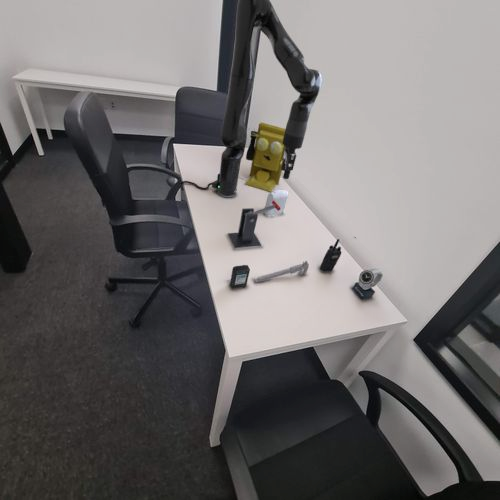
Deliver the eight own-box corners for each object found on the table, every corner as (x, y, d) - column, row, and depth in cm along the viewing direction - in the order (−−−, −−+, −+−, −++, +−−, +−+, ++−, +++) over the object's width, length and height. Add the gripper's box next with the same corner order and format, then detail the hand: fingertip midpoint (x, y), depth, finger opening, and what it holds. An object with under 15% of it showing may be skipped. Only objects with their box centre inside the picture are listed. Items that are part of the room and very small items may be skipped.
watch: (347, 289, 94) (361, 267, 88) (364, 285, 98) (378, 263, 91) (358, 301, 90) (372, 279, 84) (374, 297, 94) (390, 275, 87)
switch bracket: (252, 233, 111) (259, 205, 102) (260, 247, 104) (268, 217, 96) (227, 235, 107) (232, 206, 98) (234, 249, 100) (240, 219, 92)
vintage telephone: (229, 179, 148) (237, 123, 129) (237, 171, 158) (245, 118, 140) (282, 195, 144) (298, 139, 125) (287, 186, 155) (302, 133, 136)
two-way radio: (321, 273, 99) (336, 241, 90) (316, 265, 102) (330, 233, 93) (333, 272, 100) (350, 241, 91) (328, 264, 104) (343, 233, 94)
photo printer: (278, 210, 131) (285, 187, 123) (283, 214, 128) (290, 191, 121) (262, 213, 125) (267, 189, 118) (267, 218, 123) (273, 194, 115)
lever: (275, 204, 102) (274, 199, 100) (280, 210, 99) (280, 205, 97) (244, 216, 101) (243, 211, 99) (248, 223, 97) (247, 218, 95)
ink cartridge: (231, 289, 84) (235, 271, 80) (229, 284, 86) (233, 266, 81) (246, 287, 86) (250, 269, 81) (243, 282, 88) (247, 264, 83)
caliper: (304, 272, 97) (309, 259, 93) (305, 274, 96) (311, 261, 93) (253, 280, 89) (257, 267, 85) (255, 283, 89) (258, 269, 85)
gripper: (283, 126, 103) (274, 166, 113) (287, 136, 92) (277, 180, 102) (301, 129, 104) (291, 169, 114) (307, 140, 93) (295, 182, 103)
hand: (284, 174), depth 108 cm, fingers open, 8 cm apart
